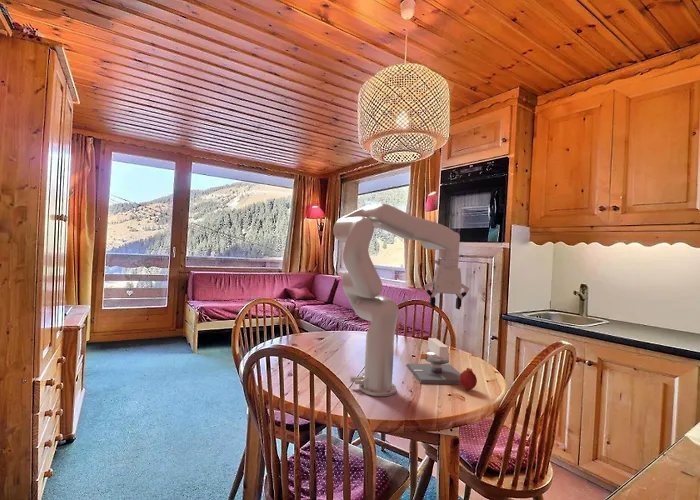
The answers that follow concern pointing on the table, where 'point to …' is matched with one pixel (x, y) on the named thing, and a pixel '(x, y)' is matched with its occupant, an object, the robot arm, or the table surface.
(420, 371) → the base
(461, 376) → the onion
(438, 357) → the cap
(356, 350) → the table surface
